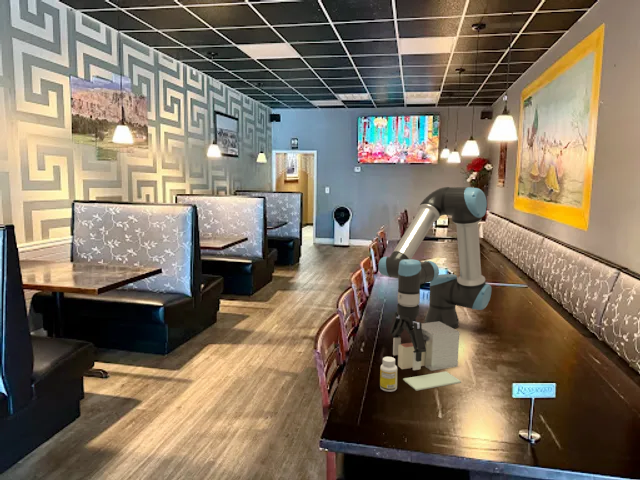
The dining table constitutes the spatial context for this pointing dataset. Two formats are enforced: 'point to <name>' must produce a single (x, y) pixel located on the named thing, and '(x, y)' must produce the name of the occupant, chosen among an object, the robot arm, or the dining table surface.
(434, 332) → the plate
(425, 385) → the pad
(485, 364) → the dining table surface
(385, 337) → the dining table surface
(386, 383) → the supplement bottle
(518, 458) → the dining table surface
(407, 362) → the cream rectangular block
